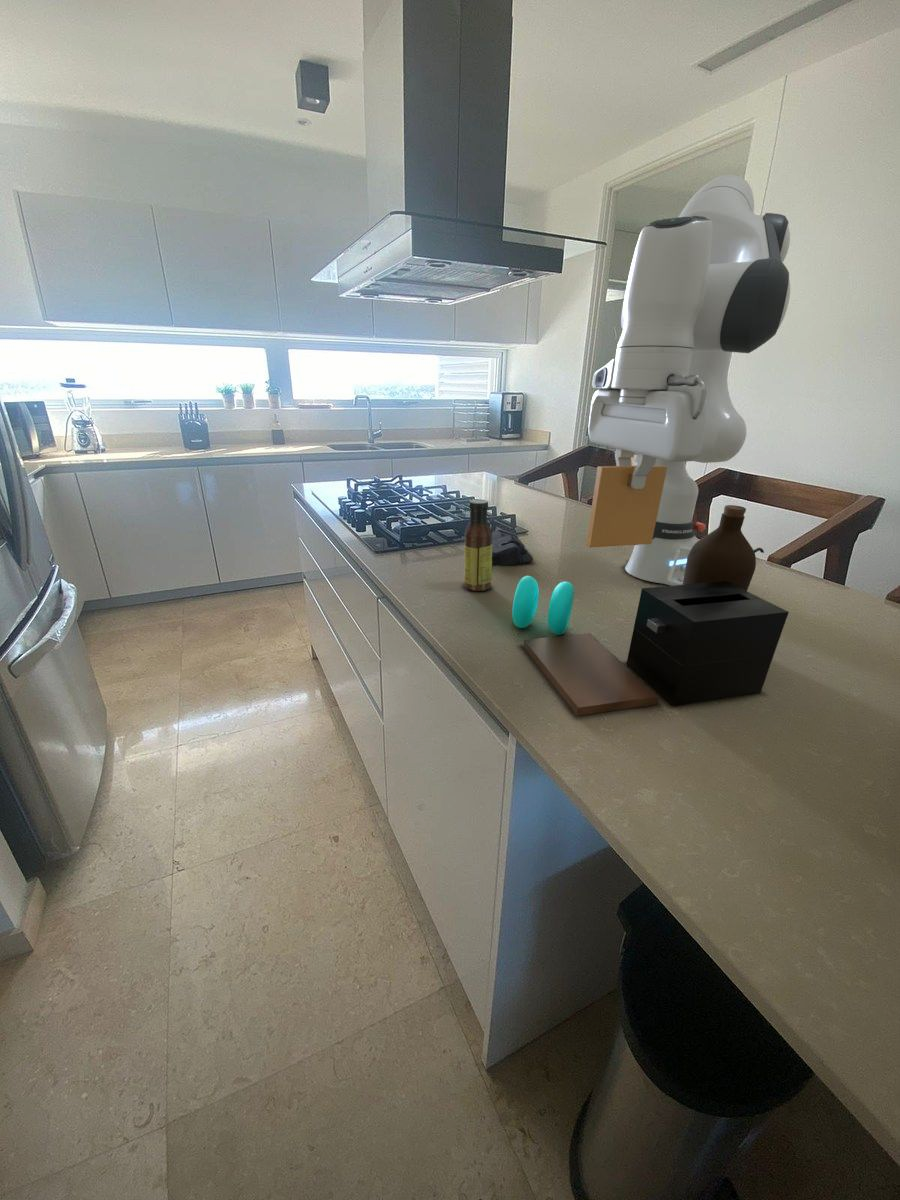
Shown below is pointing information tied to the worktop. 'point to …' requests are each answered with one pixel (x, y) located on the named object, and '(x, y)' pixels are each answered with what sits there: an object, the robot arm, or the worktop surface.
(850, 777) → the worktop surface
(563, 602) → the turquoise disc pair
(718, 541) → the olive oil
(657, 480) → the toast
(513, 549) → the dark slate chunk
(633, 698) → the cutting board
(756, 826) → the worktop surface
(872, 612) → the worktop surface
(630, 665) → the toaster
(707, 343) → the robot arm
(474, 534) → the sauce bottle
